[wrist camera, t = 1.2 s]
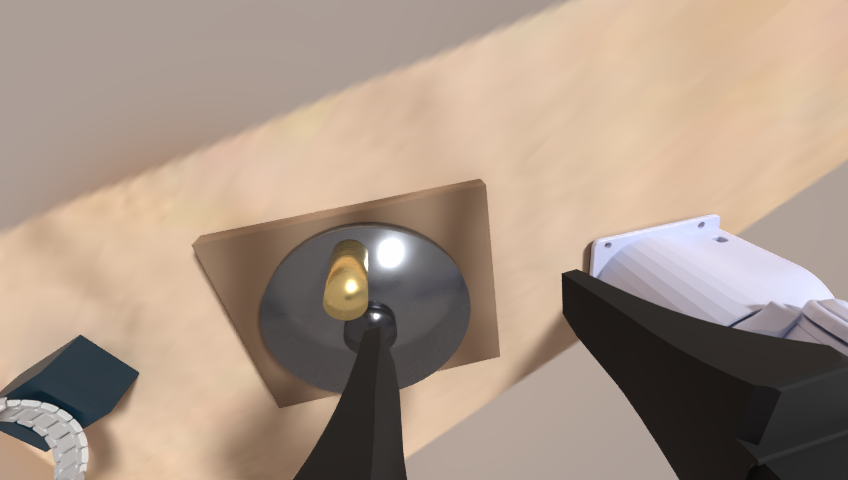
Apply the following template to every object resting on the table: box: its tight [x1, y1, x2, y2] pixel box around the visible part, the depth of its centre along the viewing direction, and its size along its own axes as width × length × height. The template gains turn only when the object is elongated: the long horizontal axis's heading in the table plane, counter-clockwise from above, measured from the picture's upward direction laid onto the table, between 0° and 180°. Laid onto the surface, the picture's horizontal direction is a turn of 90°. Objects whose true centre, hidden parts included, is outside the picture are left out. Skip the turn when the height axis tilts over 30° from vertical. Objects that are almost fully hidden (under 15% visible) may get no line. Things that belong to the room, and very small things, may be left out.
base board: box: [192, 179, 500, 408], centre depth 24 cm, size 17×14×1 cm
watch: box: [0, 335, 139, 480], centre depth 19 cm, size 6×8×11 cm
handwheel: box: [260, 222, 471, 394], centre depth 20 cm, size 13×13×6 cm
